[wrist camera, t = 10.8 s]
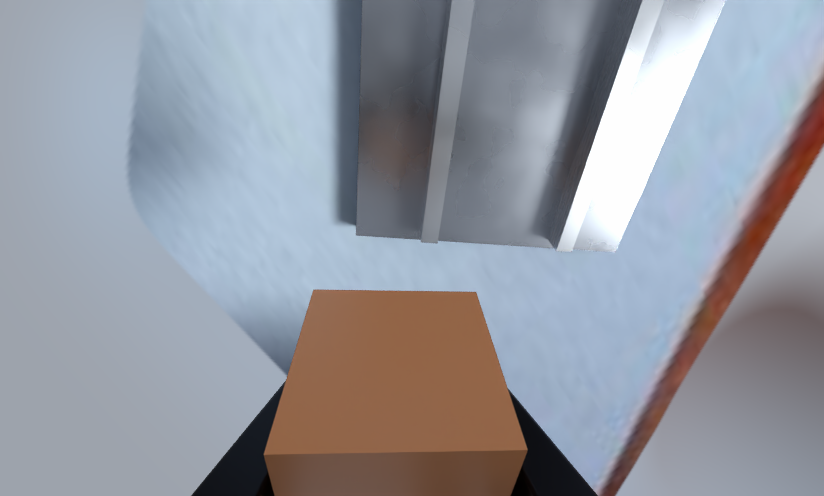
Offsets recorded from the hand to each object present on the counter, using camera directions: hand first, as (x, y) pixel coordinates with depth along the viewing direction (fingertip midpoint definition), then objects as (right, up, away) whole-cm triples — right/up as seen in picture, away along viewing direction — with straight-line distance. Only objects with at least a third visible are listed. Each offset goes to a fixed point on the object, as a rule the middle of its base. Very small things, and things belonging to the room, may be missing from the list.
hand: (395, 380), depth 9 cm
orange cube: (0, +1, +1) cm, 1 cm away
